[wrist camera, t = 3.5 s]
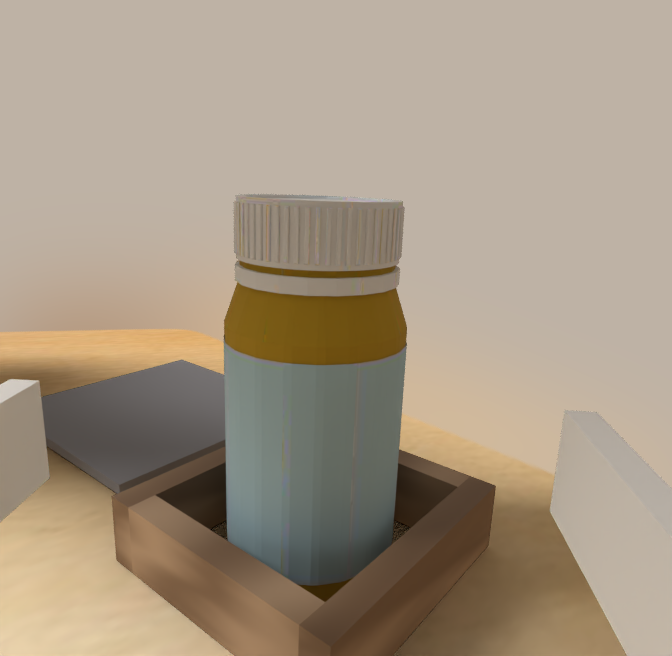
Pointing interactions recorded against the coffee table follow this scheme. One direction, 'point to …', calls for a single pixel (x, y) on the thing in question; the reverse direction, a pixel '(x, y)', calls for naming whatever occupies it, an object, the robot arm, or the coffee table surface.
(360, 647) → the walnut collar
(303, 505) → the bottle
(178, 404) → the charcoal mat
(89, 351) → the coffee table surface
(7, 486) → the robot arm
